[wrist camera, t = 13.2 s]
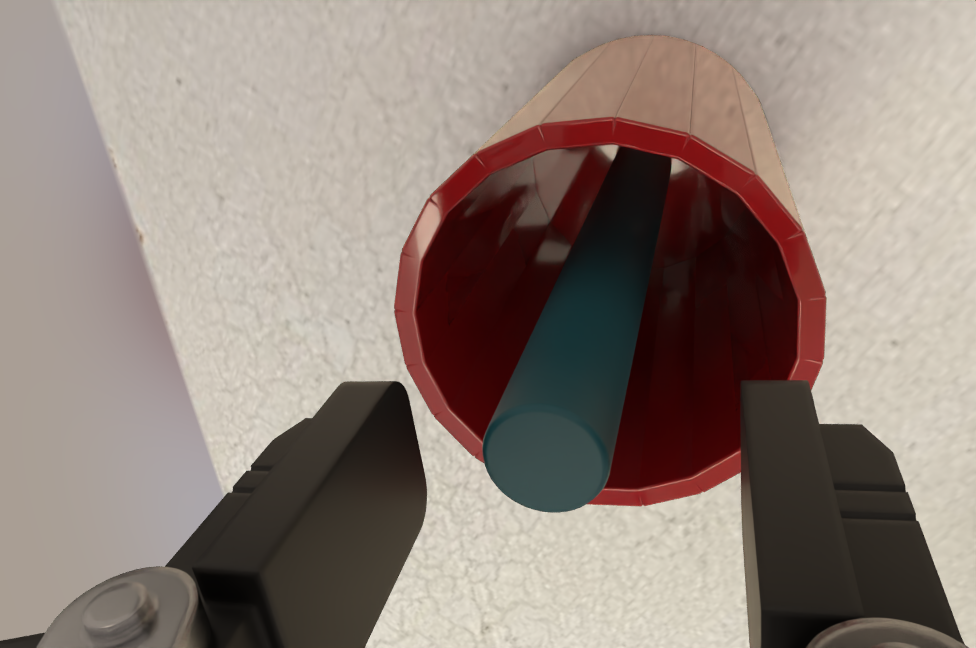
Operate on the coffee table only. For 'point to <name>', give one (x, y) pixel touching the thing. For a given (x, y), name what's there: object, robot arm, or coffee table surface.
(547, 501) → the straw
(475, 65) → the coffee table surface
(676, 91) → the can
